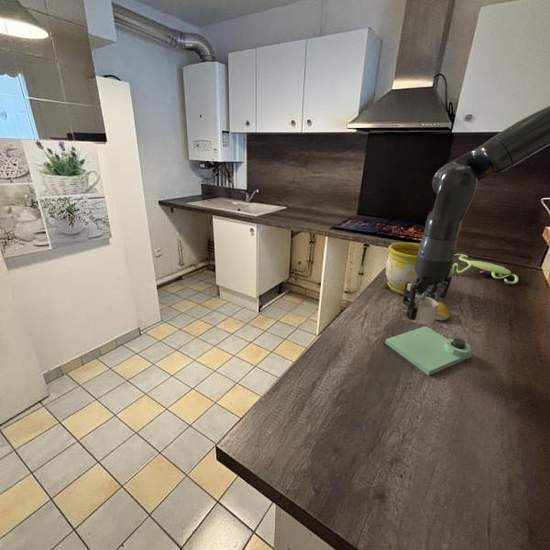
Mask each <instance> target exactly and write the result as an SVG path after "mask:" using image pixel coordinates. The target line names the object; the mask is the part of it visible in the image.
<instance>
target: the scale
mask: <svg viewBox="0 0 550 550" xmlns="http://www.w3.org/2000/svg"><path fill="white" fill-rule="evenodd" d="M453 339H454V338H447V337H446V336H444V335H442V334H440V333H439V332H437V331H436V330H433V329H432V328H431V327H429V326H427V325H425V326H422V327H419V328H416V329H412V330H409V331H407V332H403V333H401V334H397V335H395V336H392V337H388V338H385V342H384V344H386V345H387V346H388V347H390V348H391V349H392V350H393V351H395V352H396V353H397V354H399V355H400V356H402V357H403V358H404V359H406V360H407V361H408V362H409V363H411V364H413V365H414V366H415V367H417V368H418V369H419V370H421V371H422V372H423V373H424V374H426V375H427V376H431V375H433V374H436V373H439V372H440V371H442V370H445V369H447V368H450V367H451V366H454V365H456V364H458V363H461V362H463V361H466V360H468V359H470V358H471V357H472V354H473V353H472V352H471V351H472V346H470V345H469V343H467V342H466V344H465V347H464V349H458V348H455V347H454V346H452V342H453Z"/></svg>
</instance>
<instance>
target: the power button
mask: <svg viewBox="0 0 550 550" xmlns="http://www.w3.org/2000/svg"><path fill="white" fill-rule="evenodd" d="M452 339H453V342H452V346H454V347H455V348H458V349H464V347H465V344H466V343H467V341H465V340H463V339H461V338H457V337H456V338H452Z"/></svg>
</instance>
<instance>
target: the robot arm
mask: <svg viewBox="0 0 550 550" xmlns="http://www.w3.org/2000/svg"><path fill="white" fill-rule="evenodd" d="M548 146H550V105H548V106H546V107H543V108H542V109H540V110H537V111H536V112H534V113H532V114H529V115H528V116H526V117H524V118H522V119H520V120H518V121H516V122H515V123H513V124H511V125H510V126H507V128H505V129H504V130H501V131H500V132H499V133H497V134H495V135H494V136H493V137H491V138H489V139H488V140H486V141H485V142H484V143H483V144H481V145H479V146H478V147H476V148H474V149H472V150H470V151H467V152H466V153H464V154H462V155H460V156H459V157H457V158H454V159H453V160H451V161H449V162H447V163H446V164H444V165H443V166H442V167H440V168H439V169H438V170H437V171H436V172H435V173H434V175H433V177H432V179H431V188H432V190H433V192H434V193H435V194H436V197H435V201H434V204H433V208H432V210H430V212H429V213H428V214H427V216H426V220H425V224H424V229H423V233H422V237H421V240H420V243H419V244H420V246H419V250H418V255H417V259H416V264H415V272H416V273H417V277H416V279H415V281H414V282H412V283H410V282H406V283H405V287H404V294H402V300H401V301H402V302H401V303H402V304H404V305H406V306H407V310H406V313H405V316H406V318H407V319H408V320H409V321H411V320H412V321H411V322H413V320H415V319H416V315H417V311H418V306H419V305H420V303H421V301H424V300H425V299H426V297H429V298H432V299H434V300H435V301H437V302H441V301H442V299H446V298H447V295H448V292H449V288H450V285H451V282H452V280H453V278H452V276H450V274H451V269H452V267H453V262H454V258H455V256H454V255H455V254H456V251H457V245H458V238H459V235H460V230H461V227H462V223H463V219H464V217H465V215H466V213H467V212H468V209H469V207H470V205H471V203H472V201H473V199H474V197H475V194H476V190H477V187H478V182H479V181H481V180H483V179H485V178H487V177H490V176H495V175H499V174H501V173H503V172H505V171H508V170H509V169H511V168H513V167H515V166H516V165H518V164H519V163H522V162H523V161H525V160H526V159H528V158H529V157H531V156H533V155H535V154H537V153H538V152H540V151H542V150H543V149H545V148H547V147H548ZM416 292H418V293H420V294H422V295H417V294H416ZM415 298H417V301H416V302H415Z"/></svg>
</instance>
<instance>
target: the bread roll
mask: <svg viewBox="0 0 550 550" xmlns="http://www.w3.org/2000/svg"><path fill="white" fill-rule="evenodd" d="M438 304H439V306H438V309H437V313H436V317H435V320H434V321H440V322H441V321H446V320H448V319H449V318H450V317H451V312H450V311H449V309H448V307H447V305H446V304H445V303H443V302H441V301H440V302H438Z"/></svg>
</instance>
